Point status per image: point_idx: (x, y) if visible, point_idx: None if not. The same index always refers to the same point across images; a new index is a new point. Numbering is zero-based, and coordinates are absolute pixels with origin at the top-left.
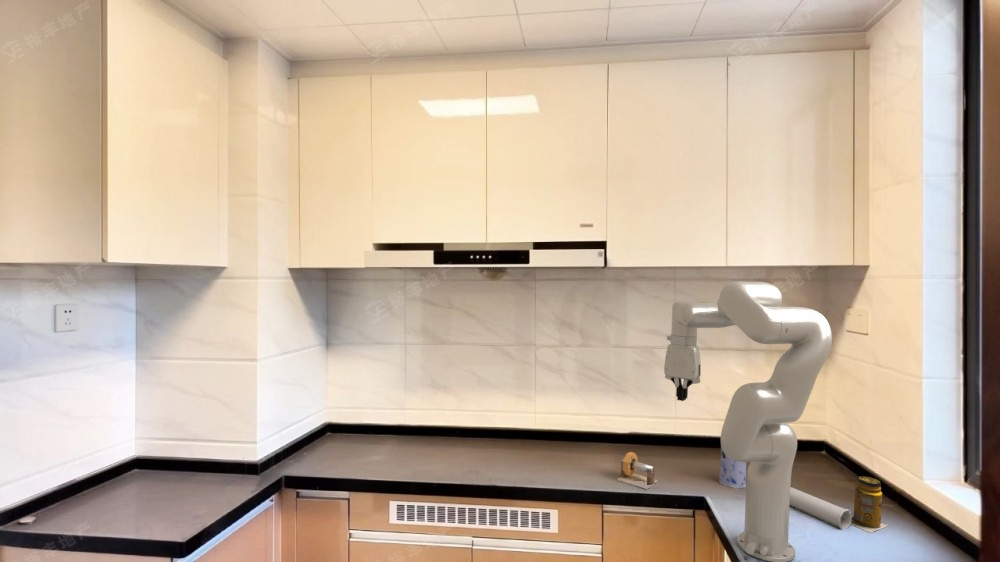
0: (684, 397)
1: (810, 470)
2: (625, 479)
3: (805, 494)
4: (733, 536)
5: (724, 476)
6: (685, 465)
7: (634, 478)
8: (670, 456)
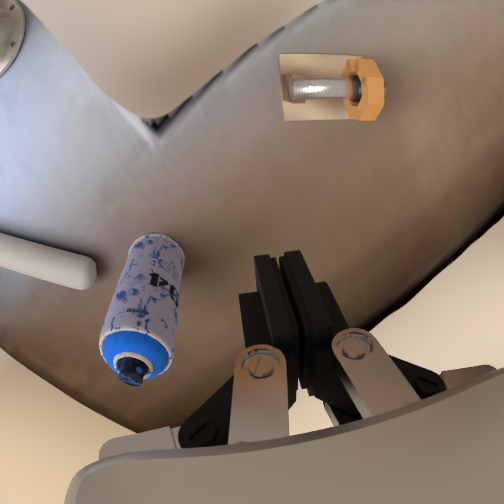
0: (249, 293)
1: (121, 393)
2: None
3: (8, 263)
4: (35, 23)
5: (158, 245)
6: None
7: None
8: None
